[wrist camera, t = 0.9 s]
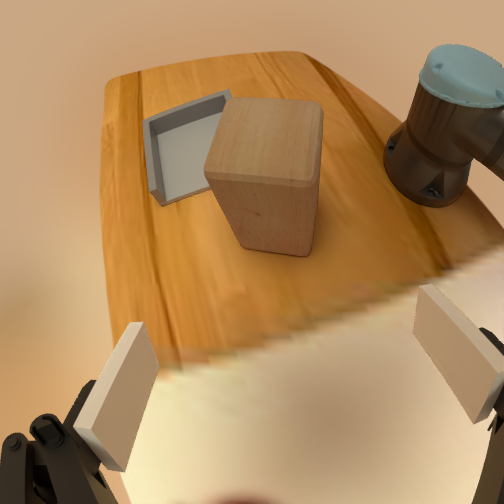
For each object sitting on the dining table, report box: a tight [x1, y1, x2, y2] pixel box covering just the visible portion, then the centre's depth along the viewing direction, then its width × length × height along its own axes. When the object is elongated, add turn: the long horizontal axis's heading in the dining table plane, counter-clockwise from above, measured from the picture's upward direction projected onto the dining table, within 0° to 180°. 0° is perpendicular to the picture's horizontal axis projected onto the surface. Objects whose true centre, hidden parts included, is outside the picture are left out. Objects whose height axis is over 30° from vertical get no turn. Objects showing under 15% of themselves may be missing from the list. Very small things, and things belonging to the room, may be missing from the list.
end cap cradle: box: [143, 89, 232, 206], centre depth 49 cm, size 16×16×5 cm
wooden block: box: [204, 97, 323, 256], centre depth 36 cm, size 10×10×20 cm
